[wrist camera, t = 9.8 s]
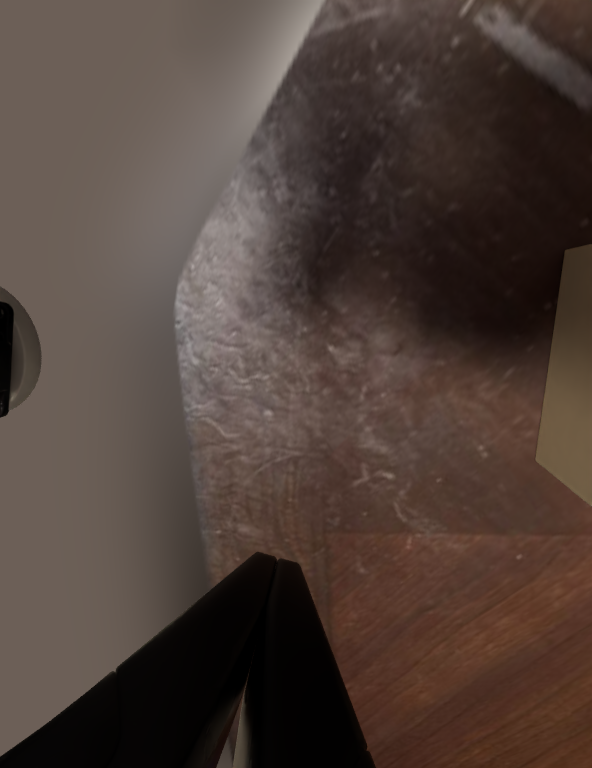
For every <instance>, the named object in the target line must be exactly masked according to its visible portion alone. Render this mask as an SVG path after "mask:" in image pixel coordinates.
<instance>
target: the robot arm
mask: <svg viewBox="0 0 592 768" xmlns="http://www.w3.org/2000/svg"><path fill="white" fill-rule="evenodd" d="M1 309H2V310H3V313H4V314H3V315H2V313H1ZM13 325H14V310H13V308H12V306H11V305H10V304H8V303H5V302H1V301H0V417H3V416H6V415H7V414H8V412H9V398H10V380H11V362H12V344H13ZM276 563H277V564H276ZM275 567H276V568H275ZM274 571H275V572H274ZM256 642H257V643H256ZM255 646H256V647H255ZM254 650H255V651H254ZM253 654H254V655H253ZM252 658H253V659H252ZM251 662H252V663H251ZM250 666H251V667H250ZM249 670H250V671H249ZM248 674H249V675H248ZM247 678H248V679H247ZM246 681H247V684H246ZM245 685H246V688H245ZM244 688H245V692H244ZM243 692H244V697H243V703H242V709H241V716H240V722H239V729H238V736H237V743H236V750H235V757H234V764H233V768H376V767H375V764H374V761H373V759H372V756H371V754H370V752H369V751H366V750H367V743H366V741H365V738H364V735H363V733H362V730H361V727H360V725H359V722H358V719H357V717H356V714H355V711H354V709H353V706H352V703H351V701H350V698H349V695H348V693H347V690H346V687H345V685H344V682H343V679H342V676H341V674H340V671H339V668H338V666H337V663H336V660H335V658H334V655H333V652H332V650H331V647H330V644H329V642H328V639H327V636H326V634H325V631H324V628H323V626H322V623H321V620H320V618H319V615H318V612H317V610H316V607H315V604H314V602H313V599H312V596H311V594H310V591H309V588H308V586H307V583H306V580H305V577H304V575H303V572H302V569H301V567H300V565H299V564H298V563H296V562H293V561H289V560H286V559H282V558H280V559H279V560H278V561H277V559H276V557H275V556H271V555H268V554H264V553H261V552H256V553H255V554H253V555H252V556H251V557H250V558H248V559H247V560H246V561H245V562H244V563H242V564H241V565H240V566H239V567H238V568H236V569H235V570H234V571H233V572H232V573H230V574H229V575H228V576H227V577H226V578H224V579H223V580H222V581H221V582H220V583H218V584H217V585H216V586H215V587H213V588H212V589H211V590H210V591H209V592H207V593H206V594H205V595H204V596H203V597H201V598H200V599H199V600H198V601H197V602H195V603H194V604H193V605H192V606H191V607H189V608H188V609H187V610H186V611H184V612H183V613H182V614H181V615H180V616H178V617H177V618H176V619H175V620H174V621H172V622H171V623H170V624H169V625H168V626H167V627H165V628H164V629H163V630H162V631H160V632H159V633H158V634H157V635H156V636H154V637H153V638H152V639H151V640H149V641H148V642H147V643H146V644H145V645H143V646H142V647H141V648H140V649H139V650H137V651H136V652H135V653H134V654H133V655H131V656H130V657H129V658H128V659H127V660H125V661H124V662H123V663H122V664H120V665H119V666H118V667H117V669H116V672H114V671H112V672H110V673H109V674H108V675H107V676H106V677H104V678H103V679H102V680H101V681H100V682H98V683H97V684H96V685H95V686H94V687H92V688H91V689H90V690H89V691H88V692H86V693H85V694H84V695H83V696H81V697H80V698H79V699H78V700H76V701H75V702H74V703H72V704H71V705H70V706H69V707H67V708H66V709H65V710H64V711H62V712H61V713H60V714H58V715H57V716H56V717H55V718H53V719H52V720H51V721H49V722H48V723H47V724H45V725H44V726H43V727H41V728H40V729H39V730H37V731H36V732H34V733H33V734H31V735H30V736H29V737H27V738H26V739H25V740H23V741H22V742H20V743H19V744H17V745H16V746H15V747H13V748H12V749H10V750H9V751H8V752H6V753H5V754H3V755H2V756H1V757H0V768H216V767H217V764H218V761H219V759H220V756H221V753H222V750H223V748H224V745H225V742H226V740H227V737H228V734H229V732H230V729H231V726H232V723H233V721H234V718H235V715H236V713H237V710H238V707H239V704H240V701H241V698H242V695H243Z"/></svg>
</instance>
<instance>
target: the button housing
mask: <svg viewBox="0 0 592 768" xmlns="http://www.w3.org/2000/svg"><path fill="white" fill-rule="evenodd" d="M535 461H536V462H538V463H539V464H540V465H541V466H543V467H544V468H545V469H546V470H547V471H549V472H550V473H551V474H552V475H553V476H555V477H556V478H557V479H558V480H560V481H561V482H562V483H563V484H564V485H566V486H567V487H568V488H569V489H571V490H572V491H573V492H574V493H575V494H577V495H578V496H579V497H580V498H581V499H583V500H584V501H585V502H586V503H588V504H589V505H590V506H591V507H592V244H588V245H584V246H580V247H575V248H571V249H567V250H565V253H564V261H563V268H562V275H561V282H560V289H559V296H558V303H557V310H556V317H555V324H554V331H553V338H552V345H551V352H550V359H549V366H548V373H547V380H546V387H545V394H544V401H543V408H542V415H541V422H540V429H539V436H538V443H537V450H536V457H535Z"/></svg>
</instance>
